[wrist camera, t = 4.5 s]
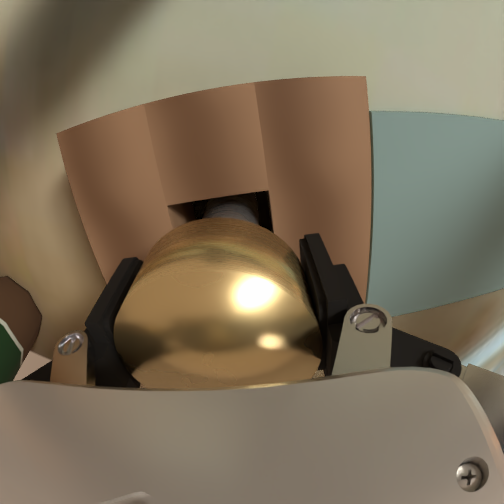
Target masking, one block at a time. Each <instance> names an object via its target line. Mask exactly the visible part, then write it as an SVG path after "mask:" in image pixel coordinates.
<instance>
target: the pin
mask: <svg viewBox="0 0 504 504" xmlns="http://www.w3.org/2000/svg"><path fill="white" fill-rule="evenodd" d="M114 342H115V347H116V350H117V353H118V355H119V357H120V359H121V361H122V363H123V364H124V366H125V367H126V369H127V370H128V371H129V372H130V373H131V375H132V376H133V377H134V378H135V379H136V380H137V381H139V382H140V383H141V384H142V385H143V386H145V387H146V388H162V389H170V388H212V387H231V386H246V385H258V384H269V383H278V382H287V381H295V380H303V379H311V378H312V376H313V375H314V374H315V372H316V370H317V368H318V366H319V364H320V361H321V358H322V350H323V344H322V336H321V333H320V329H319V325H318V321H317V317H316V314H315V310H314V306H313V302H312V299H311V295H310V291H309V287H308V284H307V280H306V276H305V273H304V269H303V267H302V265H301V263H300V260H299V258H298V257H297V256H296V254H295V253H294V251H293V250H292V249H291V248H290V247H289V246H288V245H287V243H286V242H284V241H283V240H282V239H281V238H279V237H278V236H277V235H276V234H274V233H272V232H271V231H269V230H267V229H266V228H263V227H261V226H259V215H258V203H257V197H256V195H255V193H254V192H251V193H244V194H237V195H230V196H223V197H216V198H210V199H209V200H208V203H207V206H206V209H205V212H204V215H203V218H202V219H199V220H195V221H191V222H188V223H185V224H183V225H180V226H178V227H176V228H174V229H173V230H171V231H169V232H168V233H167V234H165V235H164V236H162V237H161V238H160V239H159V240H158V241H157V242H156V243H155V244H154V246H153V247H152V248H151V250H150V251H149V253H148V255H147V257H146V258H145V260H144V262H143V264H142V266H141V268H140V270H139V272H138V274H137V276H136V278H135V280H134V282H133V284H132V285H131V287H130V289H129V291H128V293H127V296H126V298H125V300H124V302H123V304H122V306H121V308H120V310H119V312H118V314H117V317H116V320H115V324H114Z"/></svg>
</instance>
